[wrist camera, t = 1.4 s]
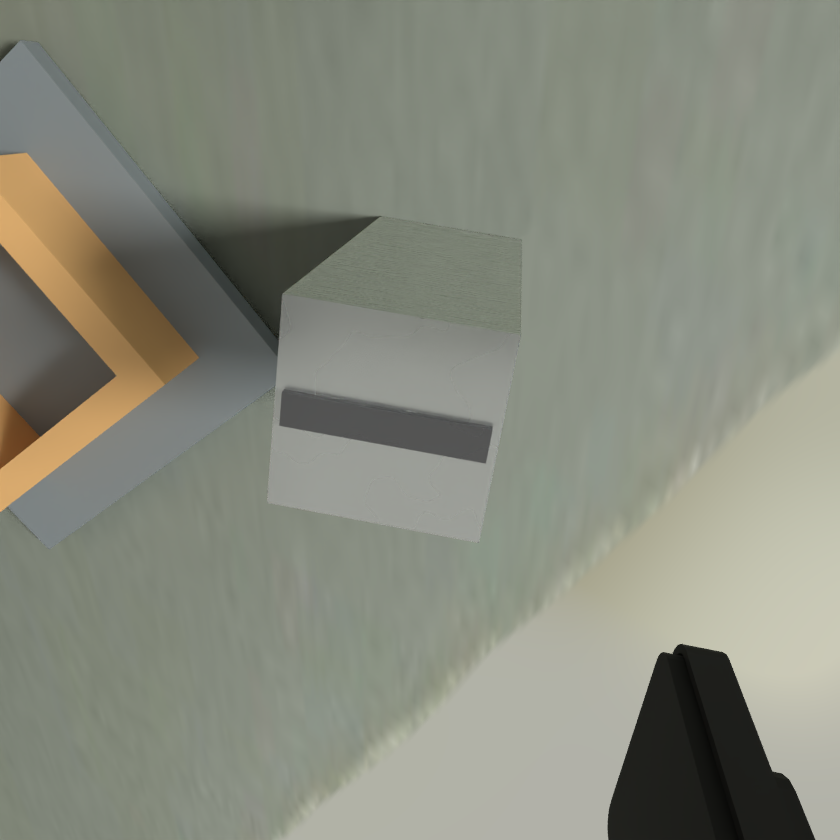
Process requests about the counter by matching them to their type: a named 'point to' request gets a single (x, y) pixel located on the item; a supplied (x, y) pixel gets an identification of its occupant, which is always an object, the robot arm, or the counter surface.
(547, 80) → the counter surface
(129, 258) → the collar plate
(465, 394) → the block
